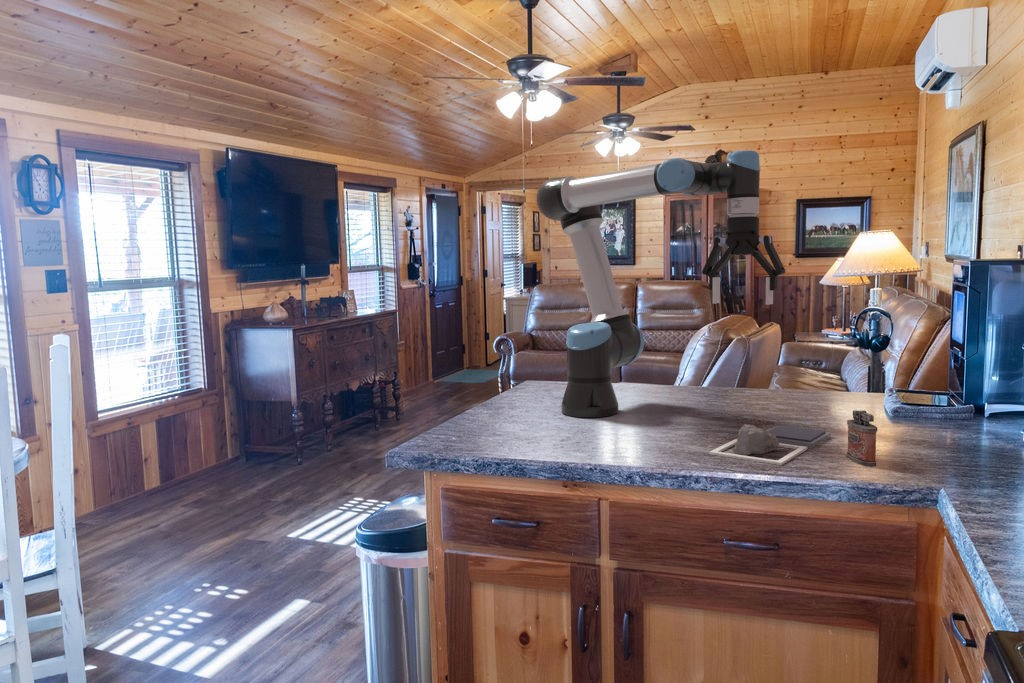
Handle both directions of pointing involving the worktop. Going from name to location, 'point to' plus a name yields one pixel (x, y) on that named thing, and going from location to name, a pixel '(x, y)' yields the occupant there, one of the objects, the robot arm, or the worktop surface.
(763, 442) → the stone
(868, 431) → the lighter
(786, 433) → the ink pad
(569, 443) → the worktop surface
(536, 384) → the worktop surface
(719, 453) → the white flat square frame
